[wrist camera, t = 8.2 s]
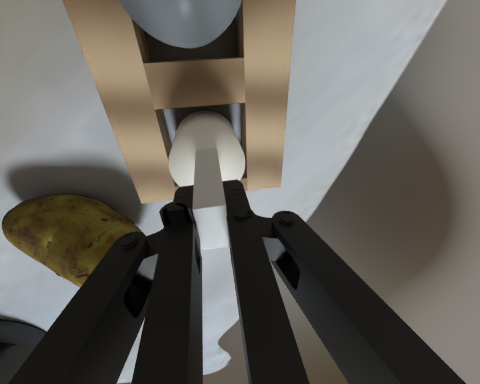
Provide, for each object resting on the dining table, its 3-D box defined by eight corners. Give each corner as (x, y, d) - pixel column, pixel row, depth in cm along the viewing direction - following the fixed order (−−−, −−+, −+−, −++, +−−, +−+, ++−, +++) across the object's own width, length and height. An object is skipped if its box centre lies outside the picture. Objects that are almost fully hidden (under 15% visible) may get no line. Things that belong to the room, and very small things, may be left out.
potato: (51, 155, 20) (-24, 208, 13) (169, 219, 26) (159, 277, 19) (17, 210, 22) (-60, 278, 16) (132, 256, 28) (112, 318, 22)
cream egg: (237, 165, 21) (246, 192, 17) (182, 171, 21) (177, 200, 17) (234, 108, 18) (244, 124, 14) (168, 113, 18) (159, 132, 14)
